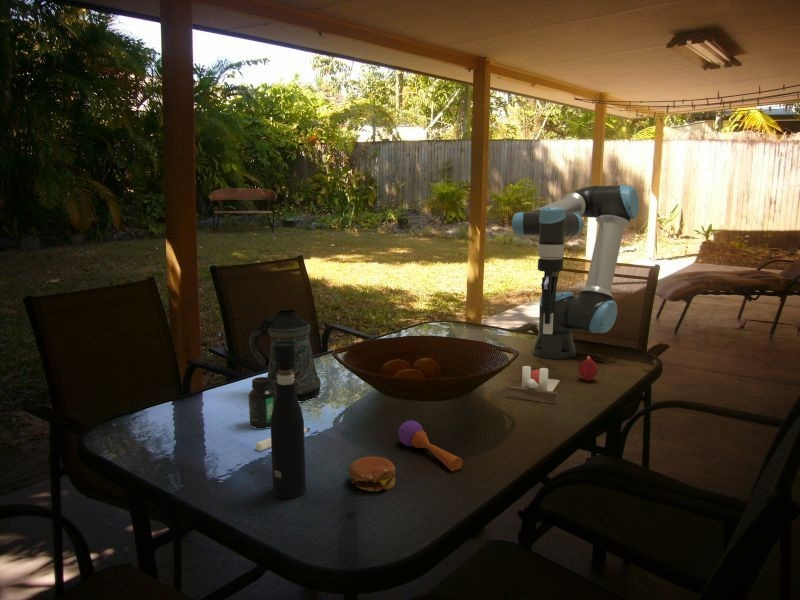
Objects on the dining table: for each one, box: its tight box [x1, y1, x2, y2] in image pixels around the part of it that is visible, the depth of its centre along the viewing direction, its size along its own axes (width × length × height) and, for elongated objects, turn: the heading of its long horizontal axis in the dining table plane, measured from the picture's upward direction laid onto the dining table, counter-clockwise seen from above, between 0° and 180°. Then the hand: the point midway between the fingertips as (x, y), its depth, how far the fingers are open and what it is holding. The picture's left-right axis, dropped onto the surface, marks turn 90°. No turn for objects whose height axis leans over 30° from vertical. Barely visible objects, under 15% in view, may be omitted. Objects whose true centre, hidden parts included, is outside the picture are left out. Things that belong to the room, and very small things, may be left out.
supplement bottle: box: [248, 376, 276, 428], centre depth 154 cm, size 7×7×12 cm
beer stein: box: [248, 309, 322, 402], centre depth 176 cm, size 16×19×25 cm
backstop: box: [506, 385, 558, 405], centre depth 174 cm, size 2×14×3 cm, turn 65°
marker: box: [254, 427, 311, 452], centre depth 145 cm, size 3×2×16 cm
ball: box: [531, 368, 540, 385], centre depth 183 cm, size 6×6×6 cm
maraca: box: [397, 420, 464, 472], centre depth 137 cm, size 6×6×20 cm
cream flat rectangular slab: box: [530, 378, 560, 392], centre depth 188 cm, size 13×8×1 cm, turn 155°
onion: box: [578, 355, 599, 382], centre depth 191 cm, size 6×6×8 cm
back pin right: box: [521, 365, 532, 388], centre depth 177 cm, size 2×2×8 cm
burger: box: [348, 456, 396, 492], centre depth 123 cm, size 10×9×5 cm
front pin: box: [527, 379, 539, 390], centre depth 176 cm, size 2×2×8 cm
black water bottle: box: [270, 342, 307, 500], centre depth 118 cm, size 6×6×30 cm
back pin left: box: [539, 367, 549, 391], centre depth 175 cm, size 2×2×8 cm
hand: (547, 333), depth 189 cm, fingers closed
